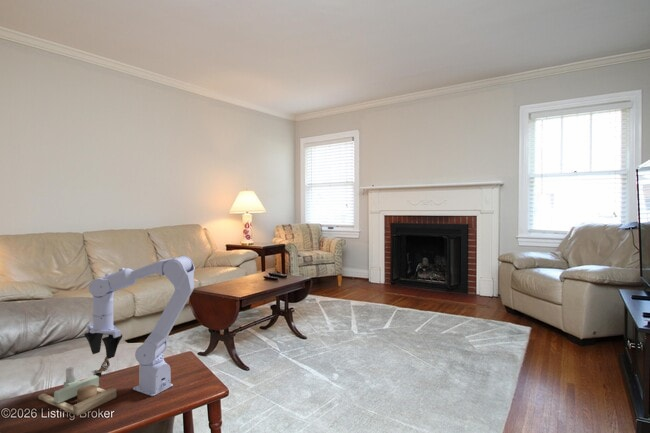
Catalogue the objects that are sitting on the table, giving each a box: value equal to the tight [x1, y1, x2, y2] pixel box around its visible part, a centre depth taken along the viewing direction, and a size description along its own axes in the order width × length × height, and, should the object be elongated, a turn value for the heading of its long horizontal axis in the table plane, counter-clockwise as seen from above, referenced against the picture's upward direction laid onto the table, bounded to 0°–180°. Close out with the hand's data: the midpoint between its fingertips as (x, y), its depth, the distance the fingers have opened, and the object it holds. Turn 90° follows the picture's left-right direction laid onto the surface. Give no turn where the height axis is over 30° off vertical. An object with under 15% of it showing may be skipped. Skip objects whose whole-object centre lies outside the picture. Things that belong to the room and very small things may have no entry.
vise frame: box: [38, 386, 117, 417], centre depth 113 cm, size 20×12×2 cm, turn 64°
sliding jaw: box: [53, 366, 100, 403], centre depth 114 cm, size 6×12×7 cm, turn 154°
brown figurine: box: [94, 356, 111, 377], centre depth 132 cm, size 2×8×4 cm, turn 7°
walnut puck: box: [76, 385, 98, 404], centre depth 111 cm, size 5×5×4 cm
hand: (103, 355), depth 120 cm, fingers open, 7 cm apart
